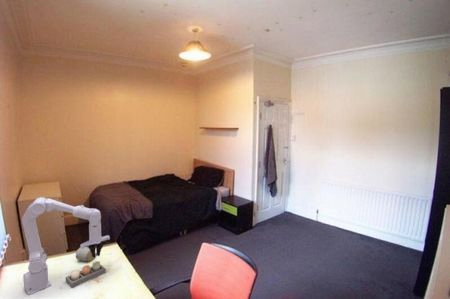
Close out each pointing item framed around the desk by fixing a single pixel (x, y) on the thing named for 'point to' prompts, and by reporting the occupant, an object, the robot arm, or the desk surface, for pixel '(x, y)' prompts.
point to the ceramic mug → (84, 254)
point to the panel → (85, 277)
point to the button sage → (96, 266)
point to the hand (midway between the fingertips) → (96, 256)
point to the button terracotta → (85, 270)
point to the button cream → (75, 275)
